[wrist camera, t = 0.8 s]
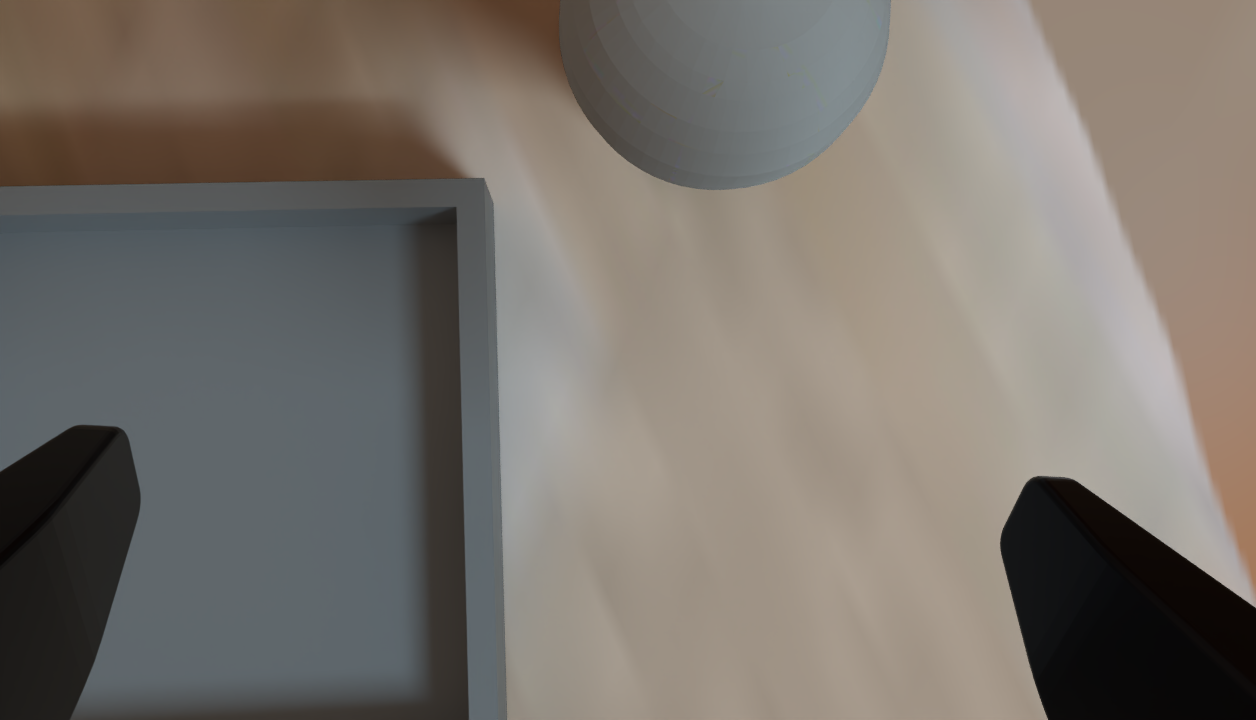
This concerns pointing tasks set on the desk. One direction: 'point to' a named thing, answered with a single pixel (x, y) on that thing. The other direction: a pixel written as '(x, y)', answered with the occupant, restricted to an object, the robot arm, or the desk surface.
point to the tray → (276, 437)
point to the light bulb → (722, 81)
